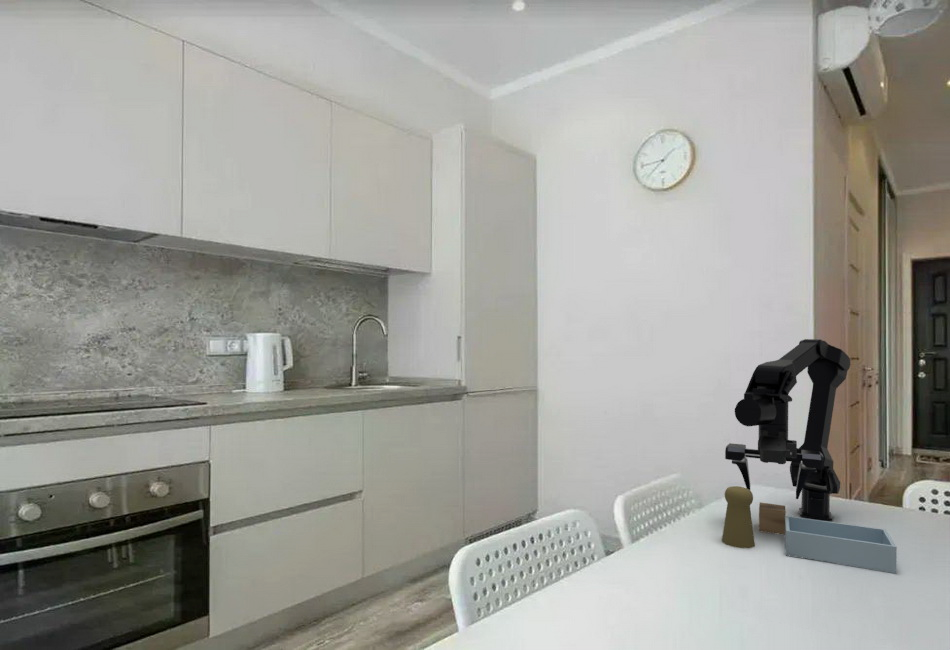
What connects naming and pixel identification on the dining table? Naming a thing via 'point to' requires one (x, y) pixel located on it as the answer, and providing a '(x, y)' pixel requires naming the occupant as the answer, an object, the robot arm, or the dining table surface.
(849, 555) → the tote
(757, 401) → the robot arm
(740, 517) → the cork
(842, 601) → the dining table surface
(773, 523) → the walnut cube
